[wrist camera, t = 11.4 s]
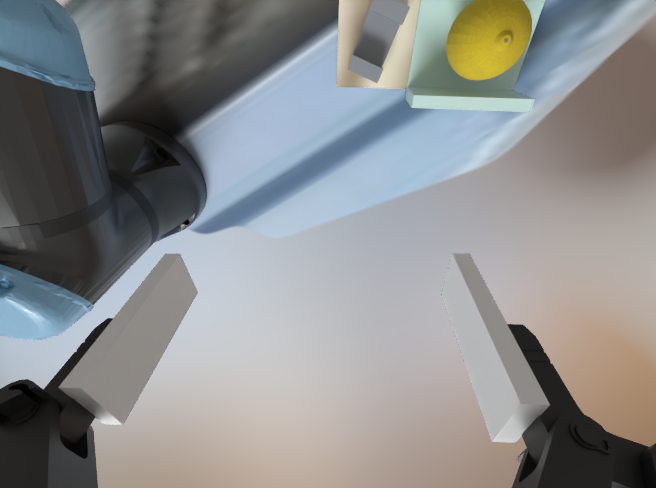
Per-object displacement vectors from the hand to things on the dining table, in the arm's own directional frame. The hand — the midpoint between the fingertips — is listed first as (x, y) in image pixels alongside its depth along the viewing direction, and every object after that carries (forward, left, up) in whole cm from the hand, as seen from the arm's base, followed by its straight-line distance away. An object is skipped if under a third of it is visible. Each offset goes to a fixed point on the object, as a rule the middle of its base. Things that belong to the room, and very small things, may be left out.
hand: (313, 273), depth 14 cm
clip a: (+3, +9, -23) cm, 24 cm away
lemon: (+11, +9, -22) cm, 26 cm away
